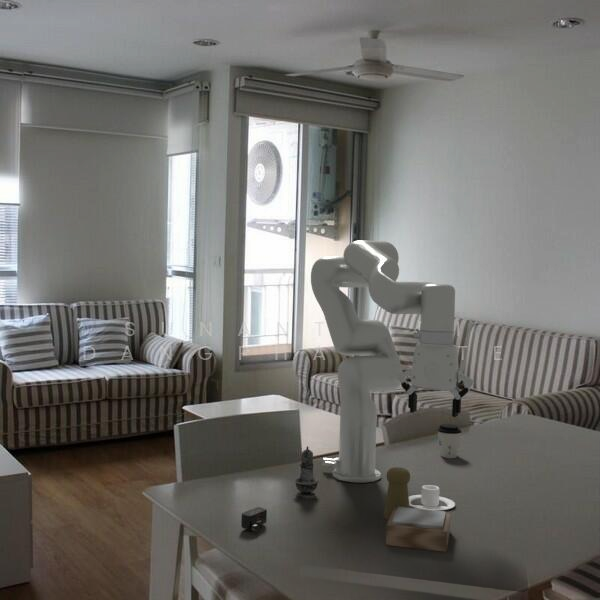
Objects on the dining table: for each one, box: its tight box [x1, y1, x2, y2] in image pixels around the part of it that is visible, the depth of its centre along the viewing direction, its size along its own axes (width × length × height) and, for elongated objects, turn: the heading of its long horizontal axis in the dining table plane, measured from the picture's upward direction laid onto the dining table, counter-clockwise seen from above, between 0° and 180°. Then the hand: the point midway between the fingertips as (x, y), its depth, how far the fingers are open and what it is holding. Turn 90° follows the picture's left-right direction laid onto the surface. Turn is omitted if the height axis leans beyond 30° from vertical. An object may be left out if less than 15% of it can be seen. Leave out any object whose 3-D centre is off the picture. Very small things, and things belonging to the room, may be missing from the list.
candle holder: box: [408, 484, 456, 511], centre depth 187 cm, size 12×12×4 cm
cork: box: [383, 466, 411, 521], centre depth 177 cm, size 6×6×11 cm
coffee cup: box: [436, 423, 462, 459], centre depth 229 cm, size 7×7×10 cm
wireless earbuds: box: [240, 506, 268, 533], centre depth 168 cm, size 4×7×3 cm, turn 145°
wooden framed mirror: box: [385, 507, 452, 553], centre depth 164 cm, size 12×12×5 cm
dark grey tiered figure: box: [293, 445, 320, 500], centre depth 191 cm, size 6×6×12 cm
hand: (434, 413), depth 180 cm, fingers open, 9 cm apart
